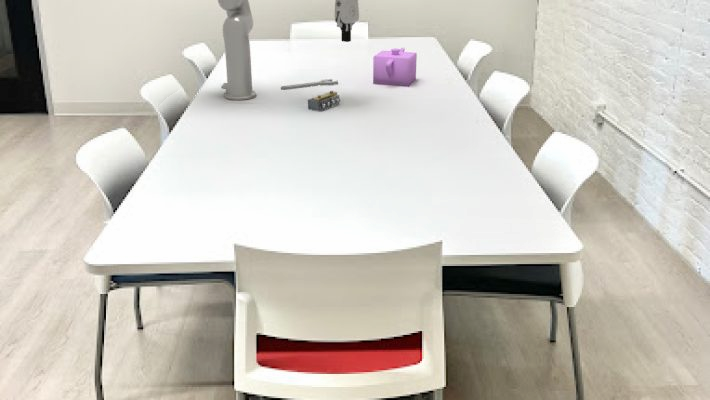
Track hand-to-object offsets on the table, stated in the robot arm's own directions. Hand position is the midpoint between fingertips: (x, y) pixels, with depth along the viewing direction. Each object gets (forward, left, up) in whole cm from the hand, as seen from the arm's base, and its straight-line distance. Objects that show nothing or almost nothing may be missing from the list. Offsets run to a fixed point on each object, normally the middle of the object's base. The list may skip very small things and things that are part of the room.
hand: (346, 41), depth 286 cm
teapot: (+2, +35, -22) cm, 42 cm away
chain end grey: (0, -12, -22) cm, 25 cm away
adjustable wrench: (-24, +8, -23) cm, 34 cm away
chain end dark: (0, -18, -22) cm, 28 cm away
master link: (0, -14, -22) cm, 26 cm away
